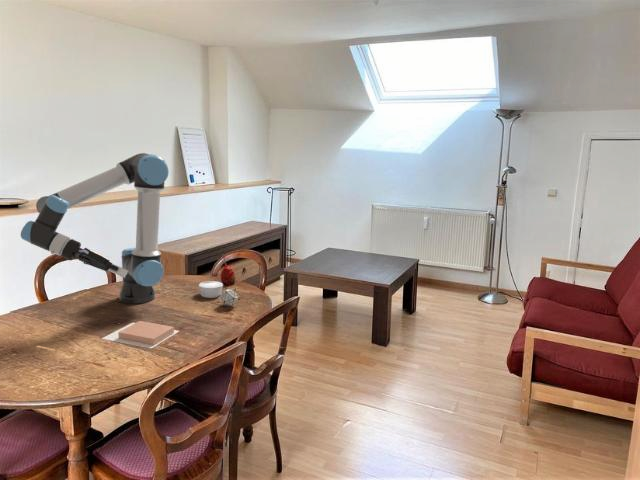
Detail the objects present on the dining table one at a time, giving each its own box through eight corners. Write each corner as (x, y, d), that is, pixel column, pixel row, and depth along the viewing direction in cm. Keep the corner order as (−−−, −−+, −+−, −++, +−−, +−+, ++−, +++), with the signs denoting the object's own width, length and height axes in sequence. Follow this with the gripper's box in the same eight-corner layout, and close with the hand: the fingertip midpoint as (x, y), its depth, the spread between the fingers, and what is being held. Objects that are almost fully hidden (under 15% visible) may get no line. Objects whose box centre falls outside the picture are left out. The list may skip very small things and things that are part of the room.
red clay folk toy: (230, 286, 244) (230, 257, 241) (217, 284, 246) (217, 255, 243) (237, 282, 251) (237, 253, 248) (225, 280, 253) (225, 252, 250)
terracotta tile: (118, 338, 177) (154, 345, 173) (118, 332, 177) (153, 338, 172) (140, 326, 188) (174, 333, 184) (140, 320, 188) (174, 326, 183)
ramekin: (212, 289, 238) (212, 279, 237) (228, 295, 231) (228, 284, 230) (193, 294, 230) (193, 284, 228) (208, 300, 223) (208, 289, 222)
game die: (233, 313, 218) (247, 295, 218) (224, 312, 210) (238, 294, 210) (220, 300, 222) (233, 283, 221) (210, 299, 214) (224, 281, 213)
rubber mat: (101, 340, 176) (101, 338, 176) (132, 323, 192) (132, 322, 192) (151, 350, 170) (151, 348, 170) (179, 332, 186) (179, 330, 186)
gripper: (62, 261, 188) (121, 287, 192) (58, 250, 176) (121, 278, 181) (72, 244, 191) (130, 270, 196) (70, 233, 180) (131, 260, 184)
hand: (126, 274), depth 188 cm, fingers closed
